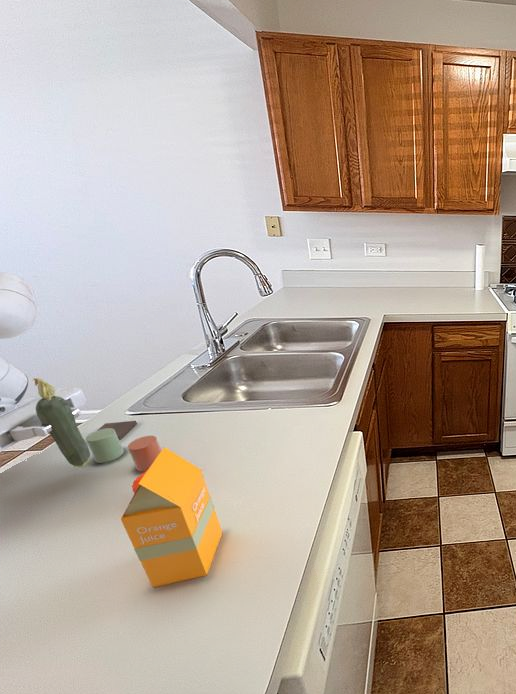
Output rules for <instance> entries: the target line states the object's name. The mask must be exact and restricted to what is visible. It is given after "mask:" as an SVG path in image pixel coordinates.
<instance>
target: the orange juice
mask: <svg viewBox="0 0 516 694" xmlns="http://www.w3.org/2000/svg"><path fill="white" fill-rule="evenodd" d="M202 470H203V469H201V468H199V467H198V466H196V465H195V464H193V463H191V462H190V461H188V460H187V459H185V458H183V457H182V456H180V455H179V454H177V453H176V452H173V451H172V450H171V449H168V447H166V446H164V447H162V448H161V452H160V454H159V455H158V456H157V458H156V459H155V461H154V462H153V464H152V465H151V466H150V468H149V469H148V471H147V472H146V473H145V475H144V476H143V478H142V479H141V481H140V482H139V483H138V484H139V486H138V488H137V490H136V492H135V493H133V496H132V497H131V500H130V502H129V503H128V505H127V507H126V508H125V511H124V513H123V514H122V516H120V521H121V523H122V525H123V527H124V530H125V531H126V534H127V536H128V538H129V539H130V542H131V545H132V547H133V551H134V552H135V555H136V556H137V558H138V560H139V562H140V564H142V567H143V570H144V572H145V574H146V576H147V578H148V580H149V582H150V584H151V587H152V588H156V587H162V586H165V585H171V584H174V583H178V582H183V581H187V580H191V579H197V578H201V577H206V576H207V575H208V573H209V570H210V568H211V566H212V562H213V561H214V557H215V554H216V552H217V548H218V547H219V543H220V541H221V538H222V537H223V530H222V527H221V524H220V521H219V519H218V515H217V512H216V510H215V505H214V503H213V500H212V497H211V495H210V492H209V489H208V486H207V484H206V480H205V478H204V475H203V471H202Z"/></svg>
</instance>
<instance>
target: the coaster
mask: <svg viewBox="0 0 516 694" xmlns="http://www.w3.org/2000/svg"><path fill="white" fill-rule="evenodd" d="M136 425H138V423H137V420H127V421H118V422H106V423H104V424H103V425H102V426H100V427H99V428H98V429H96V431H98V430H101V429H106V428H113V429H114V430H115V432H116V434H117V436H118V439H119V441H120V440H122V439H123V438H124V437H125V436H126V435H127V434H128V433H129V432H130V431H132V429H134V427H135V426H136Z"/></svg>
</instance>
